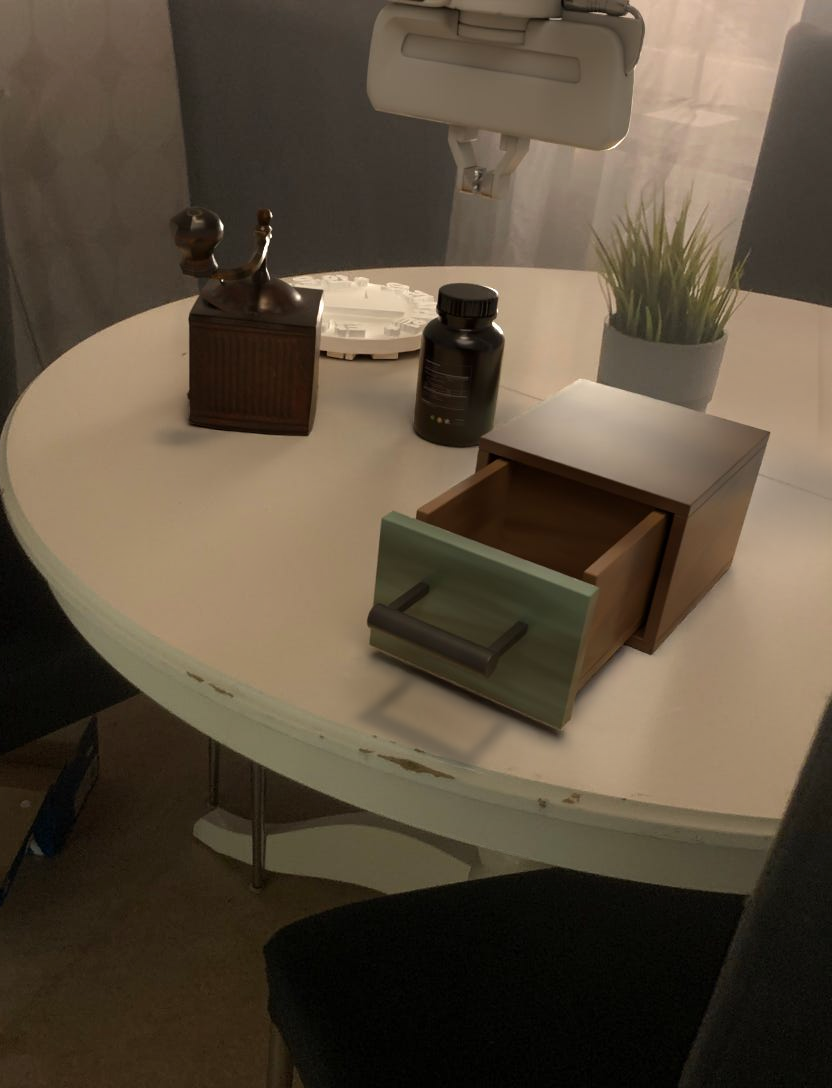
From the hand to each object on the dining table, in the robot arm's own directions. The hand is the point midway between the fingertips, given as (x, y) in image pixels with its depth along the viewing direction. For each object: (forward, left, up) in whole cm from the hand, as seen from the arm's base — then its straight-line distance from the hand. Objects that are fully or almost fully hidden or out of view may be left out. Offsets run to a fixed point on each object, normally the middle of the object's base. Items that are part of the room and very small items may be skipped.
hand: (481, 195), depth 84 cm
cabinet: (-20, +14, -19) cm, 31 cm away
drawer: (-20, +29, -18) cm, 39 cm away
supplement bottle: (0, 0, -19) cm, 19 cm away
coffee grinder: (+14, +10, -19) cm, 26 cm away
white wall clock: (+22, -16, -19) cm, 33 cm away
